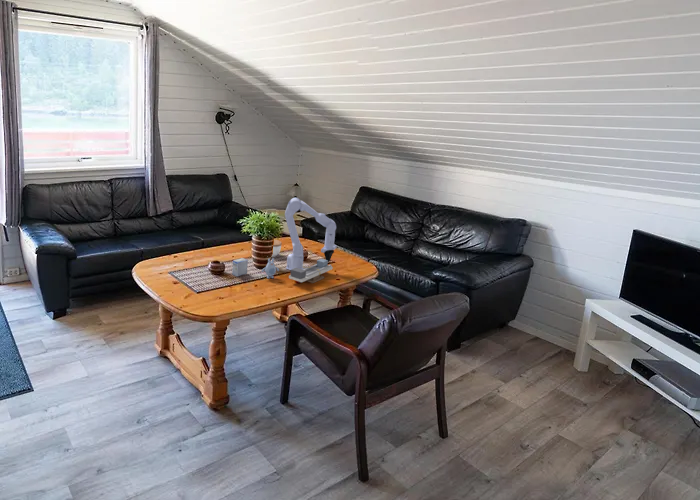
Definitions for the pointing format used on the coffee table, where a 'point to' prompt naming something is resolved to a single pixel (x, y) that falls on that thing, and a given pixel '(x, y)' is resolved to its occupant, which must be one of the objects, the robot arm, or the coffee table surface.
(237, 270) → the medicine box
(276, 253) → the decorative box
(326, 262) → the rider
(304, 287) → the coffee table surface
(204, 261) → the coffee table surface
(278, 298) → the coffee table surface
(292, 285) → the coffee table surface
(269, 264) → the toy figure
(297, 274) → the balance beam
